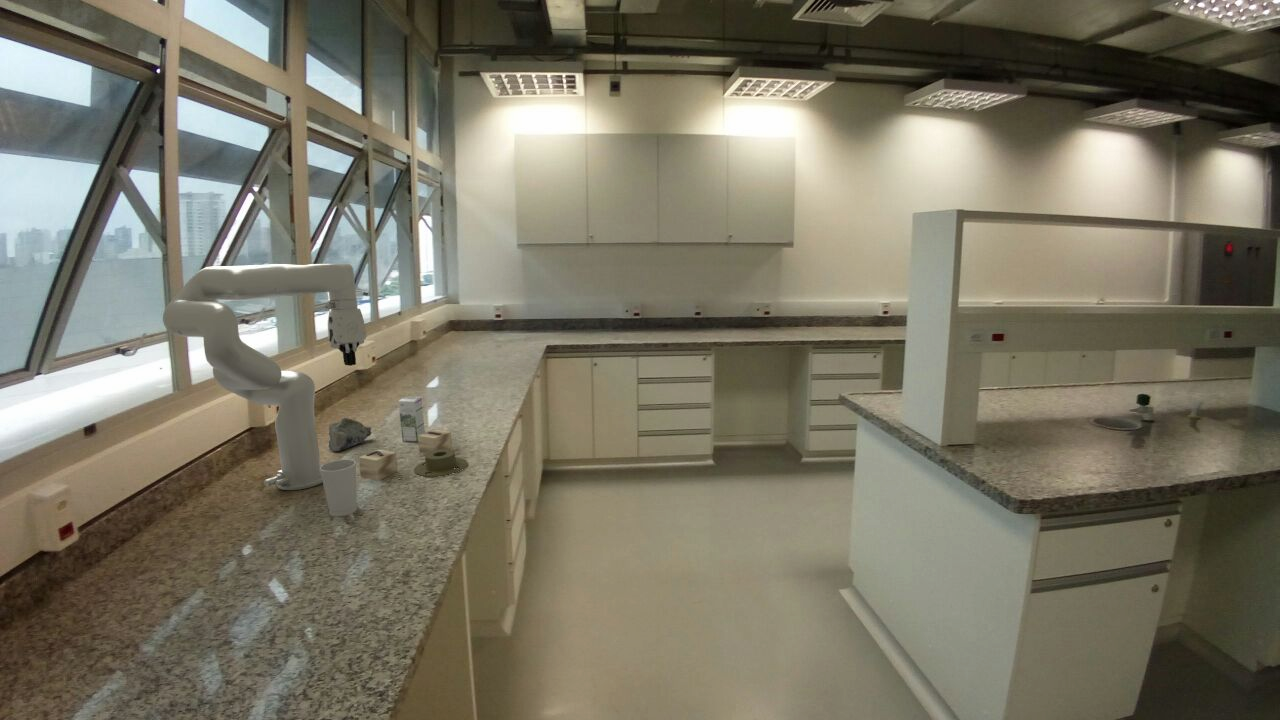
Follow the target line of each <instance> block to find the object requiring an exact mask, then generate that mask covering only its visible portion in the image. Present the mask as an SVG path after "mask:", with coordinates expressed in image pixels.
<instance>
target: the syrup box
mask: <svg viewBox="0 0 1280 720" xmlns="http://www.w3.org/2000/svg"><path fill="white" fill-rule="evenodd" d="M423 409H424V408H423V399H422V396H404V397H402V398H401V399H399V400H398V410H399V411H398V412H399V419H400V428H401V429H400V430H401V440H402V442H408V443H410V442H413V443H415V442H416V443H417V442H418V443H419V441H418V435H421V434H424V433H426V430H425V420H424V419H425V418H424V411H423Z"/></svg>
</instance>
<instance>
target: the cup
mask: <svg viewBox="0 0 1280 720" xmlns="http://www.w3.org/2000/svg"><path fill="white" fill-rule="evenodd" d="M320 473H321V477H322V481H323V483H322V485H323V490H324V494H325V498H326V504H327V507H328V513H329V516H331V517H344V516H348V515H351V514H354V513H355V512H356V511H357V510H358V497H357V495H358V494H357V462H356V460H354V459H348V458H347V459H343V458H342V459H337V460H331V461H328V462H325V463H323V464H321V467H320Z"/></svg>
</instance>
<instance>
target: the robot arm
mask: <svg viewBox="0 0 1280 720" xmlns="http://www.w3.org/2000/svg"><path fill="white" fill-rule="evenodd" d="M354 273H355V271H354V267H353V266H352V264H350V263H313V264H312V263H310V264H303V265H302V264H290V263H289V264H288V263H286V264H285V263H281V264H279V263H271V264H270V263H269V264H257V265H256V264H255V265H253V264H251V265H231V266H230V265H229V266H228V265H226V266H224V265H221V266H219V265H218V266H217V265H216V266H206V267H204V268H202V269H200V270H199V271H197V272H196V273H195V274H194V275H193V276H192V277H191V278H190V279H188V281H187V282H186V283H185V285H183V286H182V288H181V289H180V290H179V292H177V294H176V295H175V296H174V297H173V298H172V299H171V300H170V302H169V303H168V304H167V306H166V307H165V309H164V311H163V313H162V322H163V325H164V327H165V328H166V330H168V332H170V333H171V334H173V335H175V336H179V337H184V338H202V339H203V350H204V356H205V360H206V361H207V363H208V364H209V365H210V366H211V367H212V375H213V378H214V380H215V382H216V383H217V384H218V385H219V386H220V387H222V388H223V389H224V390H226V391H228V392H230V393H232V394H235V395H237V396H239V397H240V398H243V399H245V400H247V401H250V402H251V403H252V402H253V403H255V404H258V405H264V406H265V405H266V406H277V407H278V411H277V414H276V416H275V419H274V420H275V421H274V427H275V433H276V439H277V448H278V455H279V460H280V470H277V474H276V475H275V476H273V477H269V478H267V479H265V480H264V481H263V484H264V486H265V487H266V488H268V487H271V486H273V485H275V486H277V489H279V490H284V491H297V490H299V491H300V490H304V489H309V488H312V487H315V486H318V485H321V484H323V481H322V477H321V473H320V467H321V466H322V464H321V457H320V448H319V442H318V440H319V439H318V432H317V427H316V419H315V397H316V385H315V382H314V380H313V379H312V378H311V376H309V375H308V374H306V373H303V372H299V371H294V370H293V371H292V370H291V371H290V370H282V369H281V366H280V365H279V364H278V363H277V362H276V361H275V360H274V359H272V358H271V357H269V356H267V355H265V354H264V353H262V352H260V351H258V350H256V349H255V348H254V347H253V348H252V347H251V346H250V345H248V344H246V343H245V342H244V341H243V340H242V339H241V337H240V333H239V321H238V317H237V314H236V312H235V311H234V310H233V309H232V308H231V307H230V306H228V305H227V304H225V303H222V302H221V301H225V302H226V301H229V302H231V301H232V302H233V301H235V302H239V301H240V302H241V301H252V300H253V301H254V300H259V299H261V300H262V299H268V298H280V297H292V296H301V295H308V294H317V293H318V294H320V293H327V296H328V302H326V303H325V304H326V308H329V310H328V313H327V336H328V341H329V343H330V347H331V349H338V350H339V351H340V353H342V358H343V365H345V366H348V367H349V366H351V367H352V366H356V364H357V361H356V360H357V359H356V352H357V350H358V347H359V346H360V345H362V344H364V343H365V340H366V338H367V331H366V325H365V320H364V316H363V313H362V311H361V309H360V308H358V301H357V300H358V299H357V291H356V283H355V281H356V280H355V274H354ZM219 301H220V302H219Z"/></svg>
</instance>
